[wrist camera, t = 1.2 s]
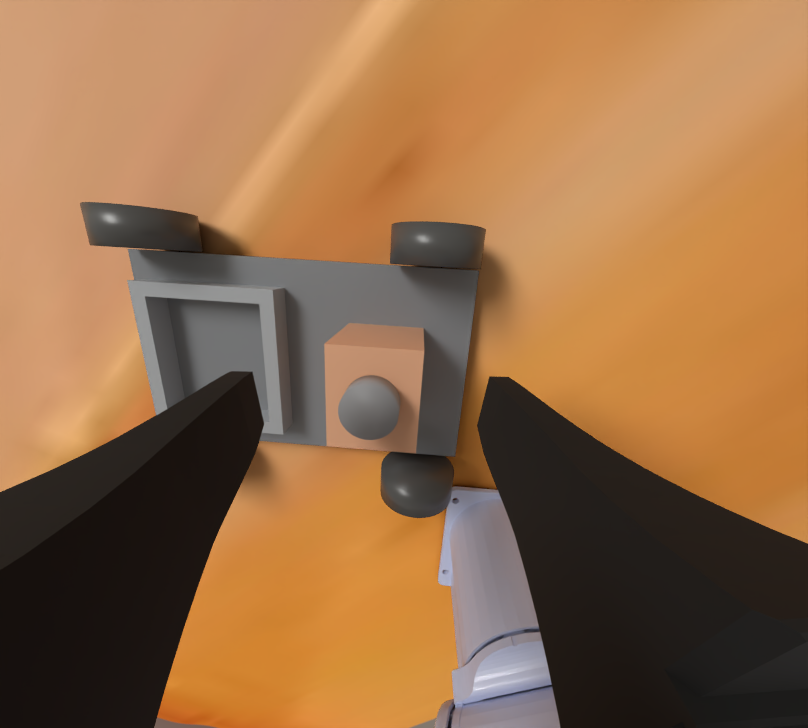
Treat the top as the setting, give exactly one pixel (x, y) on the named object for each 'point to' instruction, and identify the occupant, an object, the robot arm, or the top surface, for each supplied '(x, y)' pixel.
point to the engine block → (374, 387)
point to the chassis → (302, 328)
